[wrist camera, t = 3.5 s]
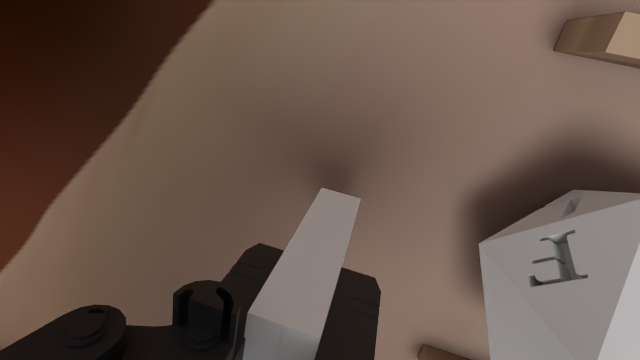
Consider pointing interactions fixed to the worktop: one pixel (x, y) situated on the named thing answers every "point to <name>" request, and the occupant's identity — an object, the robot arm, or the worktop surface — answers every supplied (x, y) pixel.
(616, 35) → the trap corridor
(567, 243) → the die
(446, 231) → the worktop surface
